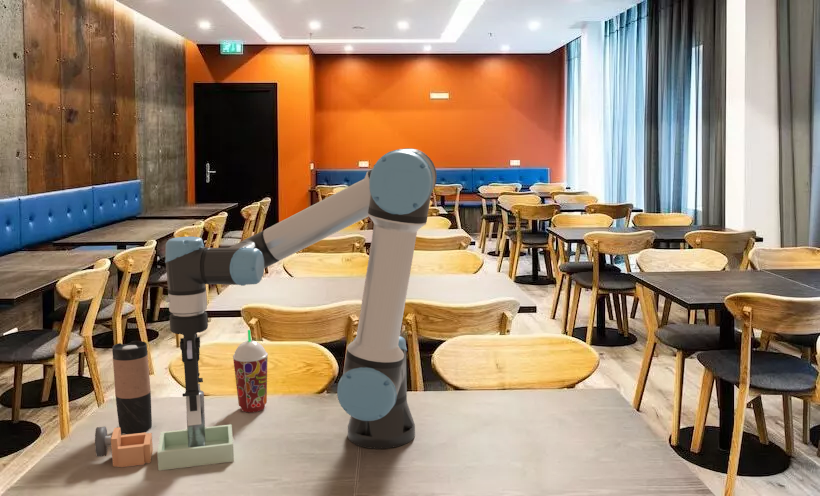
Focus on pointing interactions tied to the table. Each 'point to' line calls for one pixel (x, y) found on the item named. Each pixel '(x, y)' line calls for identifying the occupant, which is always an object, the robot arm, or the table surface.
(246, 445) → the table surface
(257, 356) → the smoothie
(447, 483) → the table surface
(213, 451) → the tray
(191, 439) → the pin
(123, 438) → the block
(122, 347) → the travel mug
